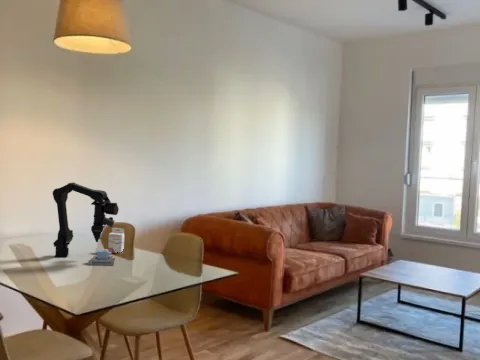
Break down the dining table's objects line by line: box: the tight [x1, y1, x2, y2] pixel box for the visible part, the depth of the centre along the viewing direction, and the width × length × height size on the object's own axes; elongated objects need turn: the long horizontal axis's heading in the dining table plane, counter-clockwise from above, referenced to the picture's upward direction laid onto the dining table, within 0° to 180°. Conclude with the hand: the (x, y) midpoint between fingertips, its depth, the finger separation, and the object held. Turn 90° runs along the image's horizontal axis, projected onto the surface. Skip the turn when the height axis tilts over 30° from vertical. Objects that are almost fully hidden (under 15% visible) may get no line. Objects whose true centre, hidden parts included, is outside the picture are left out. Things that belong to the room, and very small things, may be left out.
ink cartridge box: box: [107, 227, 125, 254], centre depth 308 cm, size 9×5×15 cm, turn 84°
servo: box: [93, 248, 112, 259], centre depth 282 cm, size 9×4×6 cm, turn 101°
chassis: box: [88, 255, 116, 266], centre depth 282 cm, size 13×13×2 cm
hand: (97, 240), depth 285 cm, fingers open, 9 cm apart
